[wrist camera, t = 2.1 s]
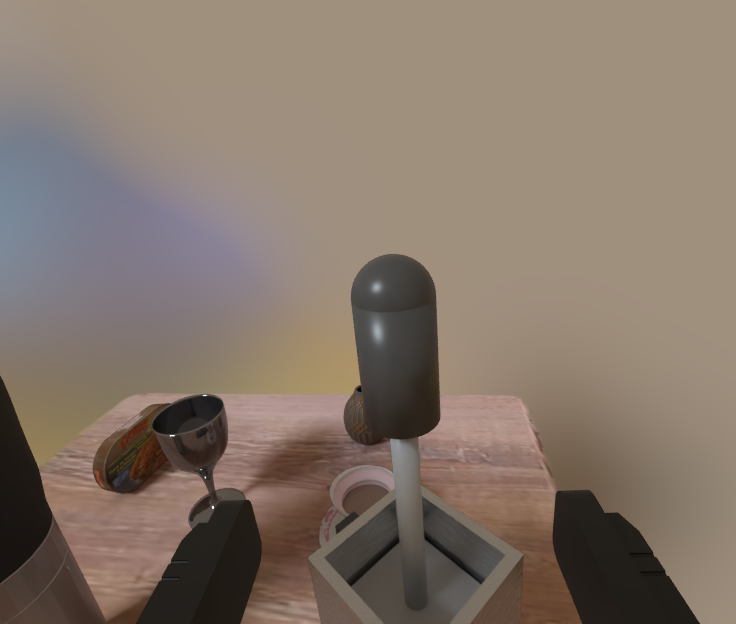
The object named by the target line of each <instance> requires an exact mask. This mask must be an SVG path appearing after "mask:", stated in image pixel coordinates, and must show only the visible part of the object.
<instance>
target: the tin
mask: <svg viewBox="0 0 736 624" xmlns="http://www.w3.org/2000/svg"><path fill="white" fill-rule="evenodd" d="M169 404H170V403H166V404H154V405H150V406H148V407H147V408H145V409H144V410H143V411H141V412H140V413H139V414H137V415H136V416H135V417H134V418H132V419H131V420H130V421H129V422H127V423H126V424H125V425H124V426H122V427H121V428H120V429H119V430H117V431H116V432H115V433H113V434H112V435H111V436H110V437H108V438H107V439H106V440H105V441H104V442H103V443H102V444H101V446H100V447H99V449H98V451H97V453H96V455H95V458H94V462H93V473H94V477H95V480H96V482H97V483H98V485H99V486H100V487H101V488H102V489H104V490H107V491H112V492H117V493H129V492H131V491H133V490H135V489H137V488H138V487H139V486H141V485H142V484H143V483H144V482H145V481H146V480H147V479H148V478H149V477H150V476H151V475H152V474H153V473H154V472H155V471H156V470H157V469H158V468H159V467H160V466H161V465H162V464H163V463H164V462H165V461H166V460H167V458H166V457H165V456H164V454H163V452H162V450H161V449H160V447H159V445H158V443H157V440H156V438H155V435H154V432H153V429H152V420H153V418H154V417H155V416H156V414H157V413H158V412H159V411H160V410H162V409H163V408H164V407H166V406H168V405H169Z"/></svg>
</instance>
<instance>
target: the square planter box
mask: <svg viewBox="0 0 736 624" xmlns="http://www.w3.org/2000/svg"><path fill="white" fill-rule="evenodd" d="M421 493H422V509H423V526H424V539H425V540H426V541H427V542H428V543H430V544H431V545H432V546H433V547H435V548H436V549H437V550H438V551H440V552H441V553H442V554H443V555H445V556H446V557H447V558H448V559H450V560H451V561H452V562H453V563H455V564H456V565H457V566H458V567H460V568H461V569H462V570H463V571H465V572H466V573H467V574H468V575H470V576H471V577H472V578H473V579H475V580H476V581H477V582H478V583H480V584H481V586H480V587H479V588H478V589H477V591H476V592H475V593H474V594H473V595H472V597H471V598H470V599H469V600H468V602H467V603H466V604H465V605H464V606H463V608H462V609H461V610H460V611H459V613H458V614H457V615H456V616H455V617H454V619H453V620H452V621H451V622H450V624H520V608H521V592H522V575H523V558H524V554H522V553H521V552H519V551H518V550H516V549H515V548H513V547H512V546H510V545H509V544H507V543H506V542H504V541H503V540H502V539H500V538H499V537H497V536H496V535H494V534H493V533H491V532H490V531H488V530H487V529H485V528H484V527H482V526H481V525H480V524H478V523H477V522H475V521H474V520H472V519H471V518H469V517H468V516H466V515H465V514H463V513H462V512H460V511H459V510H457V509H456V508H455V507H453V506H452V505H450V504H449V503H447V502H446V501H444V500H443V499H441V498H440V497H438V496H437V495H435V494H434V493H433V492H431V491H430V490H428V489H427V488H425V487H424V486H422V485H421ZM335 529H336V536H334V537H333V538H332V539H331V540H329V541H328V542H327V543H326V544H324V545H323V546H322V547H321V548H319V549H318V550H317V551H316V552H314V553H313V554H312V555H311V556H309V557H308V563H309V568H310V573H311V577H312V582H313V587H314V592H315V597H316V601H317V606H318V611H319V616H320V621H321V624H384V623H383V622H382V621H381V620H380V619H379V618H378V616H377V615H376V614H375V613H374V612H373V611H372V610H371V609H370V608H369V607H368V606H367V604H366V603H365V602H364V601H363V600H362V599H361V598H360V597H359V596H358V595H357V593H356V592H355V591H354V590H353V589H352V588H351V586H352V585H353V584H355V583H356V582H357V581H358V580H359V579H360V578H361V577H362V576H363V575H364V574H365V573H366V572H368V571H369V570H370V569H371V568H372V567H373V566H374V565H375V564H376V563H377V562H378V561H379V560H381V559H382V558H383V557H384V556H385V555H386V554H387V553H388V552H389V551H390V550H391V549H392V548H394V547H395V546H396V545H397V544H398V543H399V542H400V541H399V530H398V519H397V508H396V497H395V488H394V489H393V490H392V491H390V492H389V493H388V494H387V495H385V496H384V497H383V498H382V499H380V500H379V501H378V502H377V503H375V504H374V505H373V506H372V507H370V508H369V509H368V510H367V511H365V512H364V513H363V514H362V515H360V516H359V515H358V514H357V513H356V512H352V513H351V514H350V515H349V516H347V517H346V518H345V519H343V520H342V521H341V522H340V523H338V524H337V525H336V526H335Z"/></svg>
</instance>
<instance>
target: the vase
mask: <svg viewBox="0 0 736 624" xmlns="http://www.w3.org/2000/svg"><path fill="white" fill-rule="evenodd" d="M344 424H345V428H346V430H347V432H348V434H349V436H350V437H351V438H352V439H353V440H354V441H356V442H358V443H360V444H364V445H370V444H374V443H376V442H377V441H379V440H380V439H381V438H382V436H380V435H378V434H376V433H374V432H373V431H371V430H370V429H369V427H368V426H367V424H366V422H365V416H364V407H363V399H362V390H361V385H359V386H357V387H356V388H355V391H354V393H353V395H352V396H351V397H350V399H349V400H348V401H347V403H346V406H345V409H344Z"/></svg>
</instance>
